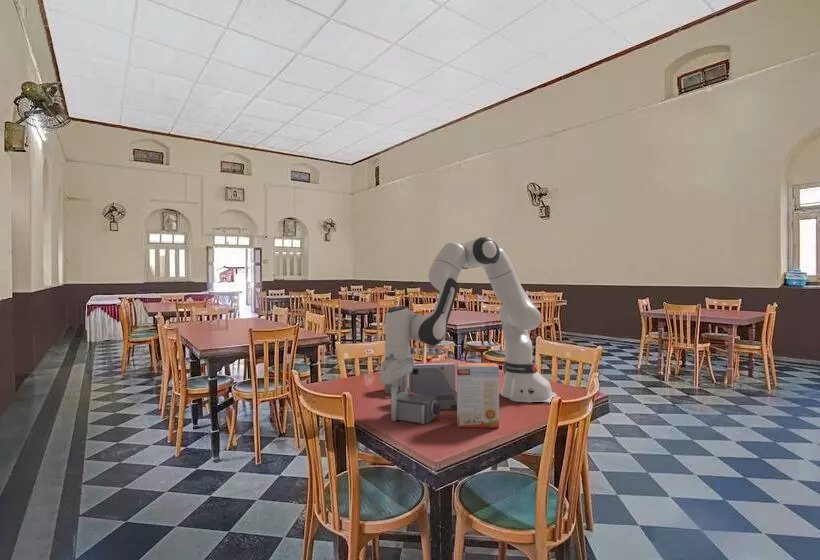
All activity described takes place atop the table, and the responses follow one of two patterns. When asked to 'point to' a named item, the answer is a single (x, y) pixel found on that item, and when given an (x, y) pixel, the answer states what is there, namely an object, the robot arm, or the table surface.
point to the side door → (405, 409)
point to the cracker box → (478, 395)
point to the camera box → (422, 403)
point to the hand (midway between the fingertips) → (397, 390)
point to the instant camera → (435, 382)
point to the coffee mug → (403, 386)
